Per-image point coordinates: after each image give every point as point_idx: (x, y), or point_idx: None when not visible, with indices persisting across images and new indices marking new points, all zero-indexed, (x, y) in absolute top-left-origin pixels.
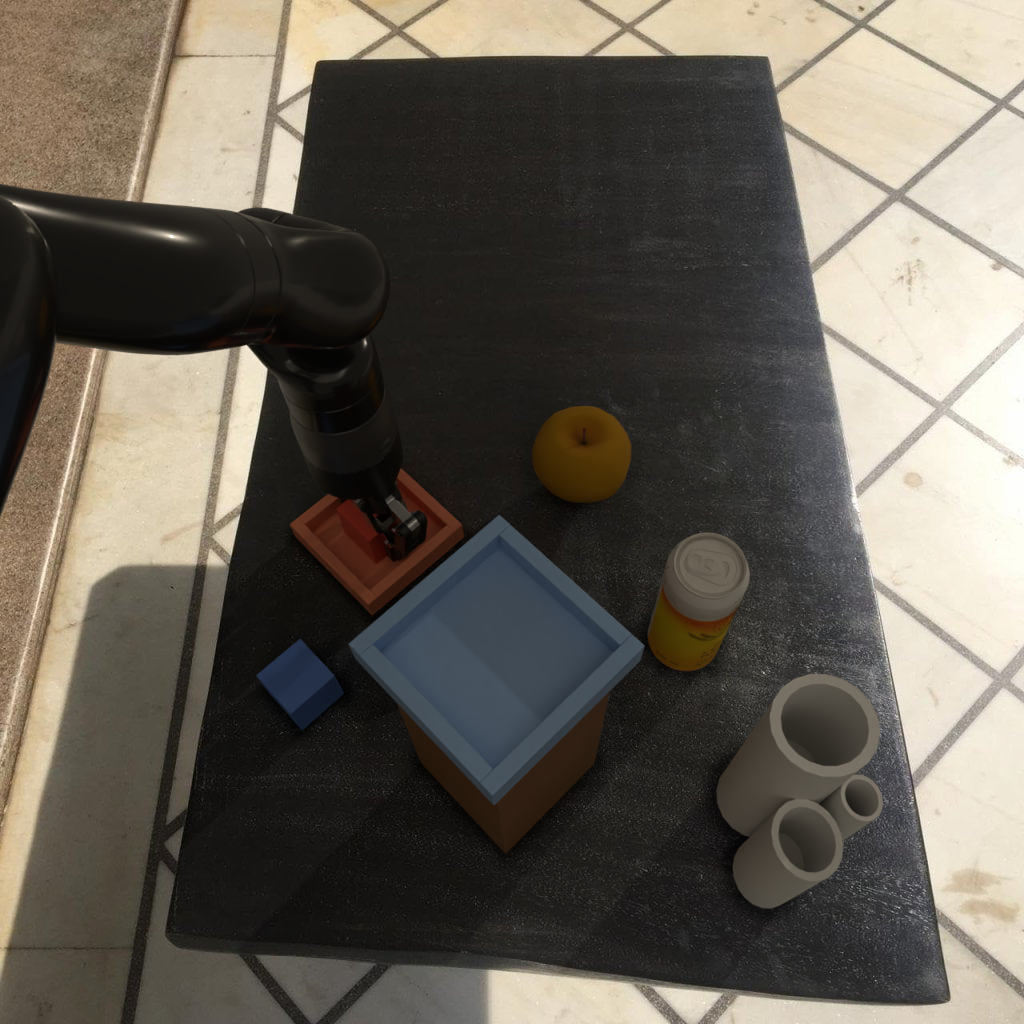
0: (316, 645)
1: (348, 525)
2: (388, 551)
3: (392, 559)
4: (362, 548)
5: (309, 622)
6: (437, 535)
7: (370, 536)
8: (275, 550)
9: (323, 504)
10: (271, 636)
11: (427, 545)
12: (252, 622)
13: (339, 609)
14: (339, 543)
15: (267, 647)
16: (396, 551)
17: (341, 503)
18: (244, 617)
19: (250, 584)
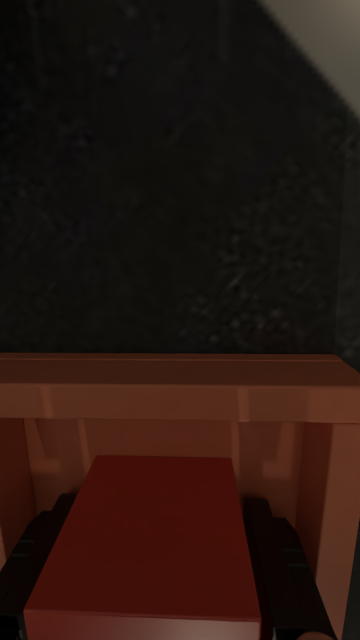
0: (15, 182)
1: (185, 555)
2: (38, 546)
3: (55, 504)
4: (146, 469)
5: (88, 213)
6: None
7: (38, 627)
8: (346, 286)
9: (339, 507)
10: (127, 89)
11: None
12: (209, 70)
13: (67, 302)
14: (215, 429)
15: (104, 52)
16: (5, 574)
17: (285, 576)
18: (243, 59)
19: (319, 153)
